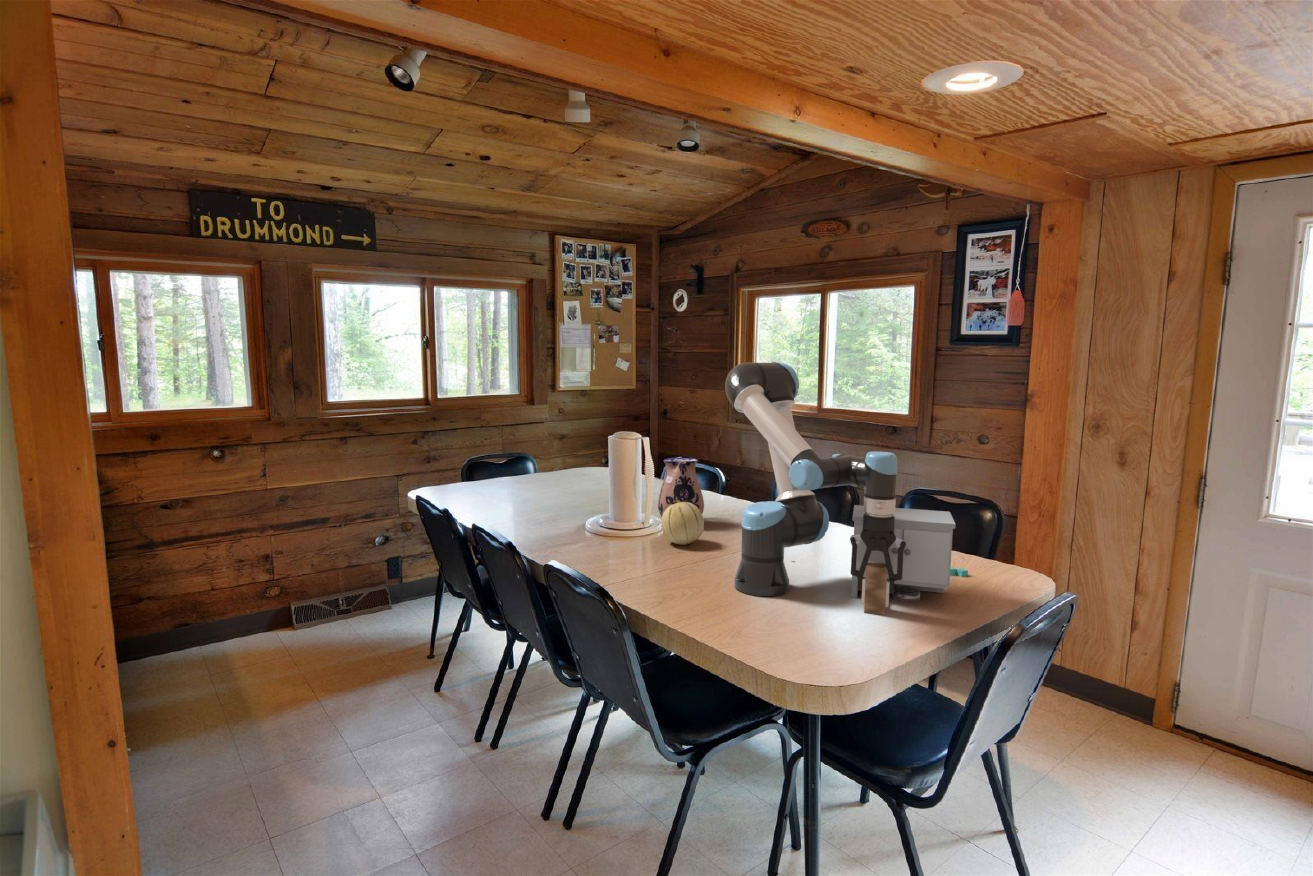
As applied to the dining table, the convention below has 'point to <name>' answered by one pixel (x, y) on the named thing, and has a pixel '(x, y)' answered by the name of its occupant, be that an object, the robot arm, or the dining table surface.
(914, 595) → the steel puck
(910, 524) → the cabinet
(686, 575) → the dining table surface
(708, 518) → the dining table surface
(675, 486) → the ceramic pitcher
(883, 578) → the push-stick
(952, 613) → the dining table surface
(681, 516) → the cantaloupe
